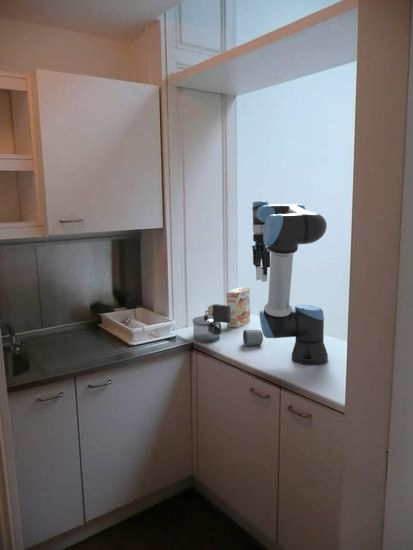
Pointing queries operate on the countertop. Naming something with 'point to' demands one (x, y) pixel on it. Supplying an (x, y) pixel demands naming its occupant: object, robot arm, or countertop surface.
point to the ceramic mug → (252, 337)
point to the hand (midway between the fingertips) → (261, 280)
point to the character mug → (211, 313)
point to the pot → (206, 333)
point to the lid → (215, 316)
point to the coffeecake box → (239, 306)
